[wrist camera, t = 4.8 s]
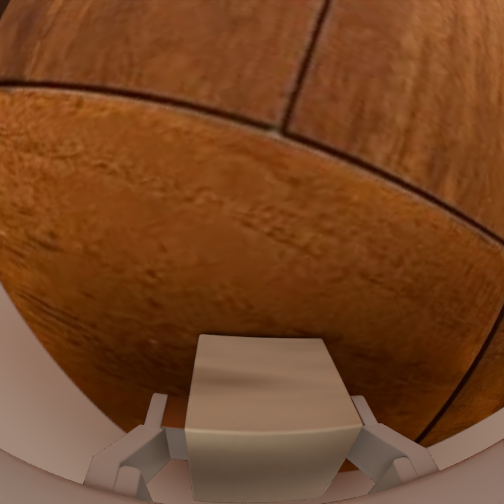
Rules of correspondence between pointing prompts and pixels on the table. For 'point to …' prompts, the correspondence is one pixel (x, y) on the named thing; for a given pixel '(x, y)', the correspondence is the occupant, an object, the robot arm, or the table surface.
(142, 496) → the robot arm
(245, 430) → the block
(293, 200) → the table surface
